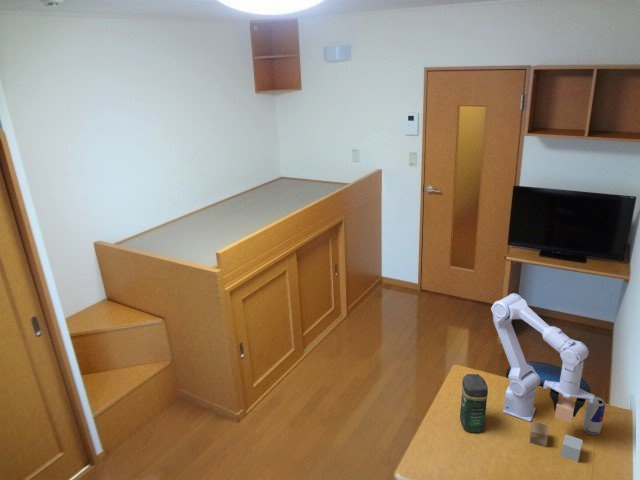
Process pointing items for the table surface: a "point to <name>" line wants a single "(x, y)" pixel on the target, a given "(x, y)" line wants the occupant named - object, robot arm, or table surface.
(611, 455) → the table surface
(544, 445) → the walnut block
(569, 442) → the slate block
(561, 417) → the terracotta block
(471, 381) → the coffee jar
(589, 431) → the energy drink
